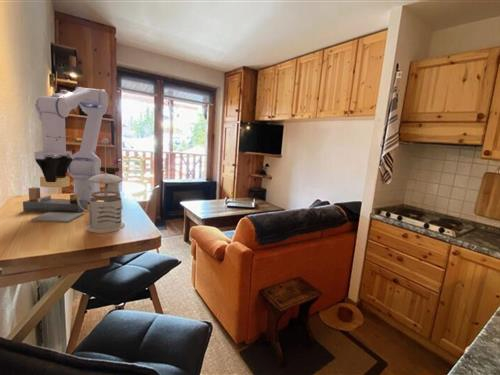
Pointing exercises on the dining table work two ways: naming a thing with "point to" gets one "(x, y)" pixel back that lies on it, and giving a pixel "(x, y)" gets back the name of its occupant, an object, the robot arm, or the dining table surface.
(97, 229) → the french press
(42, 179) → the beige block
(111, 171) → the bolt
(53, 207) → the plane body
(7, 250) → the dining table surface
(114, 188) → the salt shaker
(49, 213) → the mat
